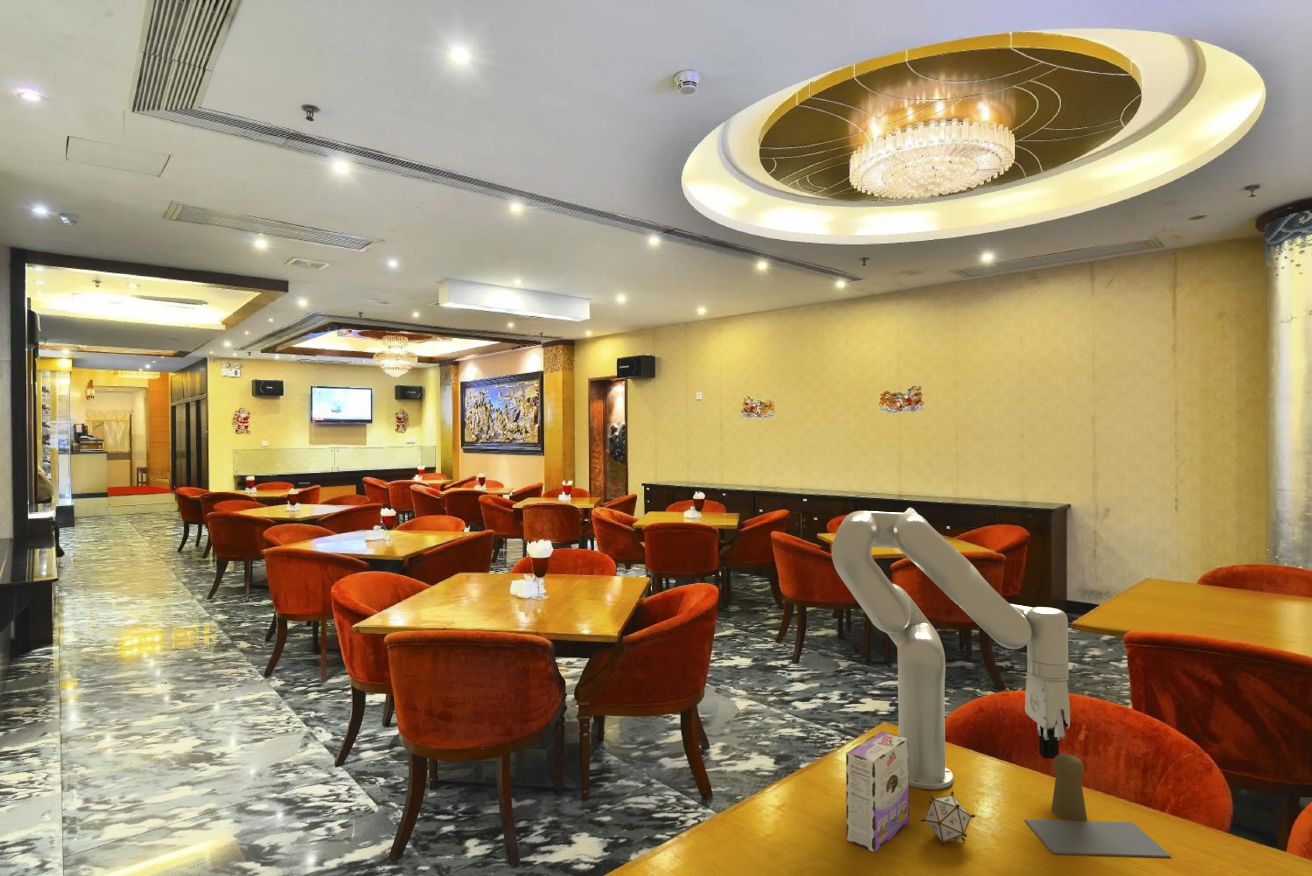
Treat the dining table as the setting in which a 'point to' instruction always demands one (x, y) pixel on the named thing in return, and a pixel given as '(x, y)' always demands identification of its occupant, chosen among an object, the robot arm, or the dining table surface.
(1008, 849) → the dining table surface
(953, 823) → the game die
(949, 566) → the robot arm
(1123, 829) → the felt mat
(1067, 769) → the cork
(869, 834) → the candy box
